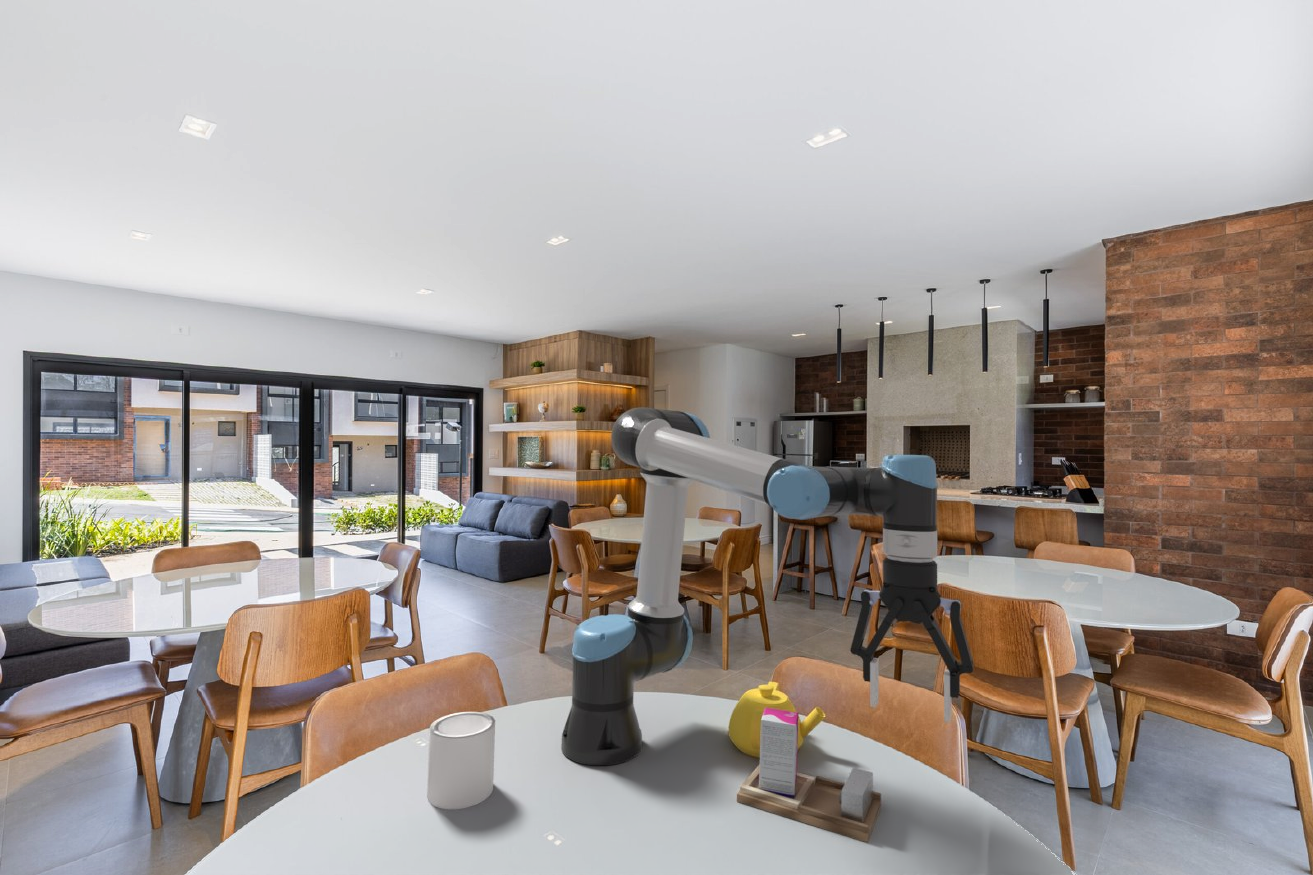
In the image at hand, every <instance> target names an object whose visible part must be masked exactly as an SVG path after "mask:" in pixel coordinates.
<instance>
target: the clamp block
mask: <svg viewBox="0 0 1313 875" xmlns="http://www.w3.org/2000/svg"><path fill="white" fill-rule="evenodd" d="M844 783H845V785H844V787H843V788H842V791H841V793H840V795H839V803H840V804H842V806H841V817H843V818H847V819H850V820H853V821H857V822H860V823H863V822H864V819H865V817H866V814H867V812H868V809H869V807H870V804H871V802H872V800H873V791H874V772H872V771H868V770H865V769H862V768H861V769H860V768H858V767H857V768H856V767H852V770H851V771H850V773H849V775H848V777H847V779H846V781H845V782H844Z"/></svg>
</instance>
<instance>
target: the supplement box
mask: <svg viewBox="0 0 1313 875" xmlns="http://www.w3.org/2000/svg"><path fill="white" fill-rule="evenodd" d="M798 715H799V712H791V711H784V710H777V709H771V708H765V710H764V713H763V716H762V719H761V740H760V758H759V764H760V771H759V789H760V790H764V791H767V792H771V793H774V794H777V795H781V796H784V797H787V798H794V795H795V786H796V782H797V772H798V750H799V749H798Z"/></svg>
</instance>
